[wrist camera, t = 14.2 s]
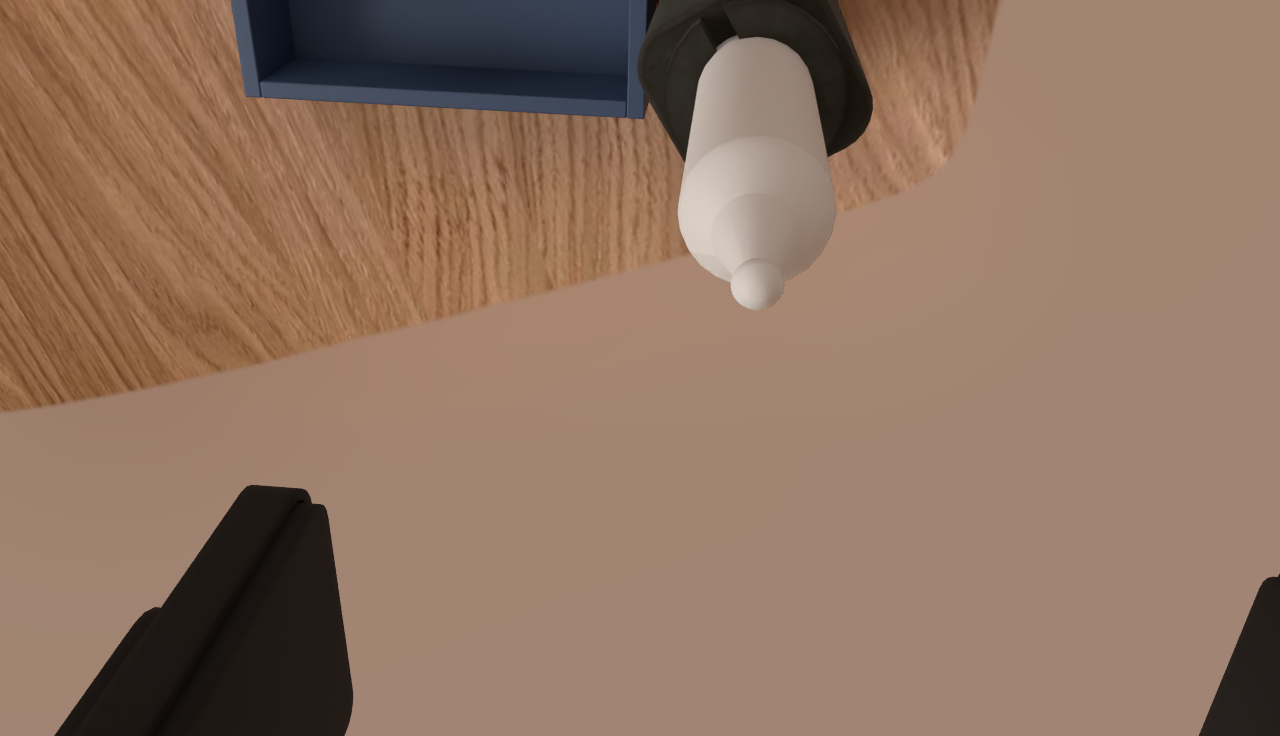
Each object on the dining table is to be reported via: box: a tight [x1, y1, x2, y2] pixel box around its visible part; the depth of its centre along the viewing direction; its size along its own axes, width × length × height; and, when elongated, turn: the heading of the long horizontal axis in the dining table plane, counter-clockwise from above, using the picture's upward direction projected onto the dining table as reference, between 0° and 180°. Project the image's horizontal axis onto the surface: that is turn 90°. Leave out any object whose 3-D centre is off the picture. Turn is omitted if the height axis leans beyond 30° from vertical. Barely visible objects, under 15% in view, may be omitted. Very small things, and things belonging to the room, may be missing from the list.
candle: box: [637, 0, 873, 310], centre depth 28 cm, size 5×5×25 cm
